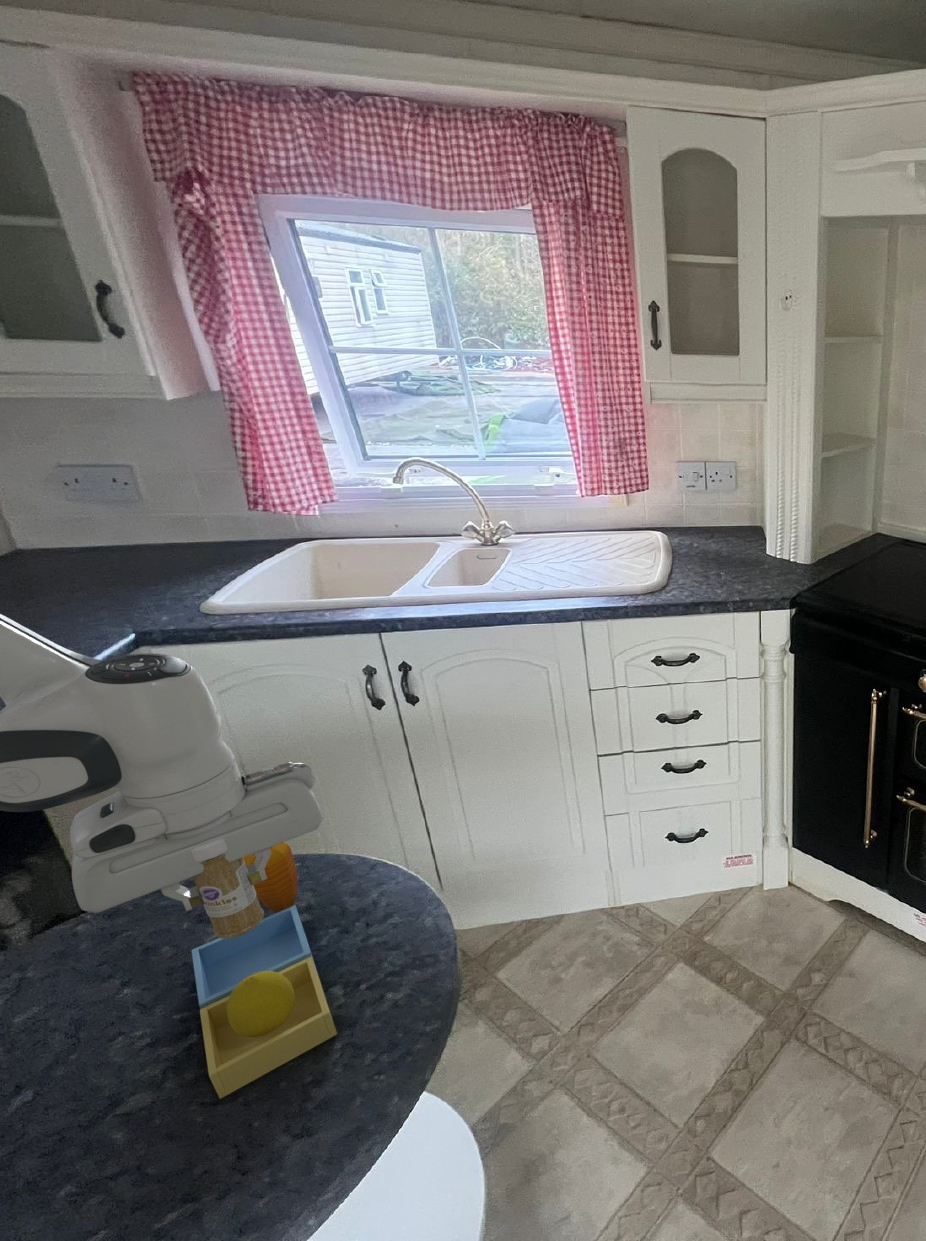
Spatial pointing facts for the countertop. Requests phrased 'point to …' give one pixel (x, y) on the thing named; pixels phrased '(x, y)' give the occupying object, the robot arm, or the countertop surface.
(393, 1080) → the countertop surface
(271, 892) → the carrot
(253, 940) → the blue bin
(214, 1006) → the yellow bin
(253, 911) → the sprinkles bottle
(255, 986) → the lemon
